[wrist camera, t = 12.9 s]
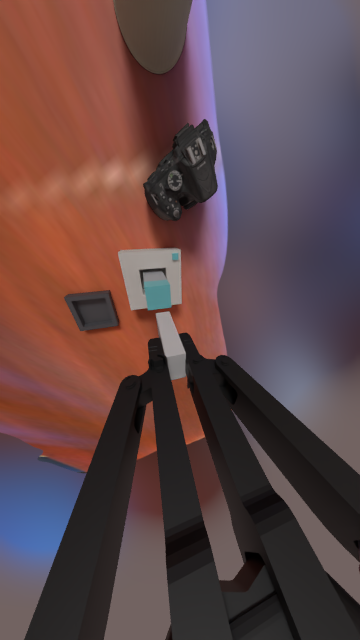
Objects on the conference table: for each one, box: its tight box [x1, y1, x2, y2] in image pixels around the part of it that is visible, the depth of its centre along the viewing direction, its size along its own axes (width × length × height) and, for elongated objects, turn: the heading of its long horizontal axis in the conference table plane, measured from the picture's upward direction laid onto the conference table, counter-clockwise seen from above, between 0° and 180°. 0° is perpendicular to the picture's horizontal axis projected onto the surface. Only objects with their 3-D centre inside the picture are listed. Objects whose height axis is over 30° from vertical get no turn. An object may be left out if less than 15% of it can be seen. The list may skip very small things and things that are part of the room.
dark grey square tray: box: [64, 290, 119, 331], centre depth 35 cm, size 9×9×2 cm
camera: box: [143, 119, 218, 221], centre depth 23 cm, size 13×10×10 cm
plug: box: [143, 268, 171, 310], centre depth 28 cm, size 4×4×13 cm
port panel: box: [118, 248, 182, 310], centre depth 32 cm, size 12×12×5 cm
